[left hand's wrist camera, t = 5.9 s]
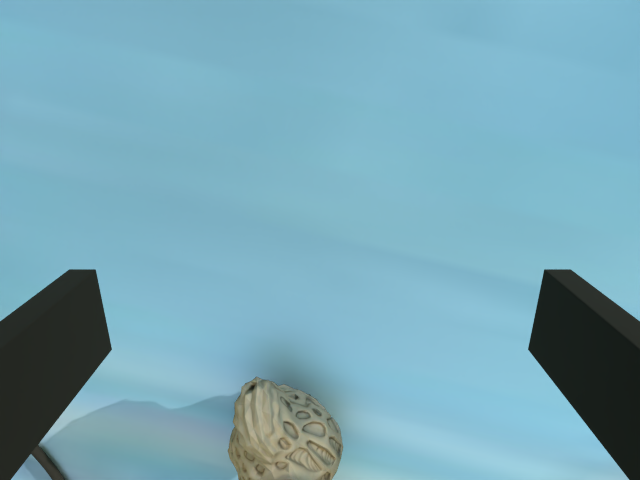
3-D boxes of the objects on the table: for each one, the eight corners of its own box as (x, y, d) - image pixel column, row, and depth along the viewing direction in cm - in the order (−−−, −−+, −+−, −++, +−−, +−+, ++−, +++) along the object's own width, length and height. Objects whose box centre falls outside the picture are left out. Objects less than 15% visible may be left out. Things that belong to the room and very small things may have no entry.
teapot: (214, 348, 46) (168, 466, 32) (318, 327, 45) (318, 439, 31) (267, 489, 53) (249, 636, 39) (358, 473, 52) (372, 618, 38)
